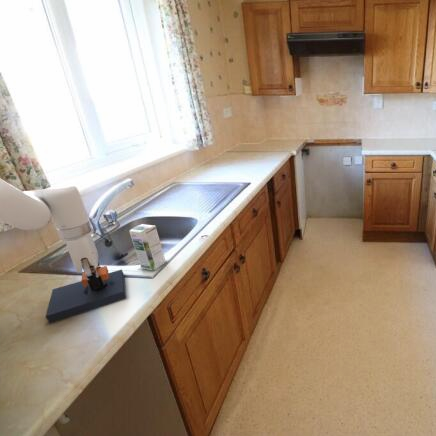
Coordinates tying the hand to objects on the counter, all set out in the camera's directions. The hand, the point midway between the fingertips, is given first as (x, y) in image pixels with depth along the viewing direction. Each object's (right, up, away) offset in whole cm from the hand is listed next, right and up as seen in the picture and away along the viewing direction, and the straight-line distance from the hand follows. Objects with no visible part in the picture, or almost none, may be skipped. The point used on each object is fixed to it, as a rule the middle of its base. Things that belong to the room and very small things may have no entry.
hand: (98, 283), depth 95 cm
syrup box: (+9, +3, +15) cm, 17 cm away
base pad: (-2, -4, 0) cm, 5 cm away
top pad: (0, -1, 0) cm, 1 cm away
